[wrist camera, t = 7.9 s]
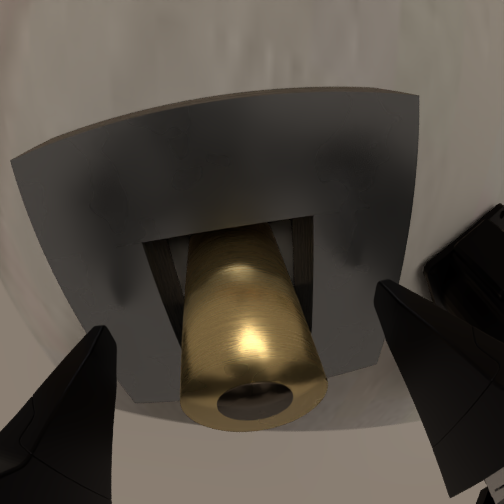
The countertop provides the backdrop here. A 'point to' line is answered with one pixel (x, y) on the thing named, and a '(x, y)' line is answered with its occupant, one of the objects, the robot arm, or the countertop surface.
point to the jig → (228, 213)
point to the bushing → (245, 335)
